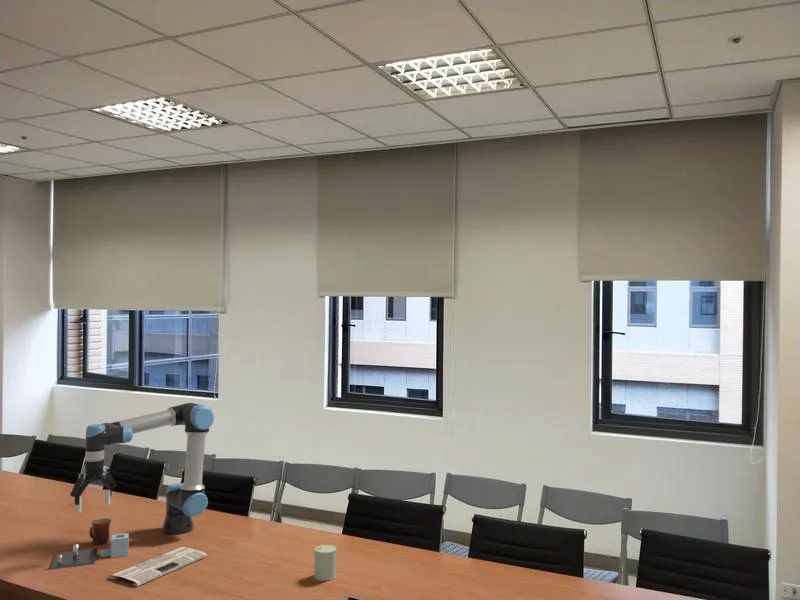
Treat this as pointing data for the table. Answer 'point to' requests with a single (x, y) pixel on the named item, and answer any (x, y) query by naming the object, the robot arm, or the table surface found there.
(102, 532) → the mug
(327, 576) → the can
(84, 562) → the post plate
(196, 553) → the newspaper
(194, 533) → the table surface
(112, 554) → the hollow square cube
